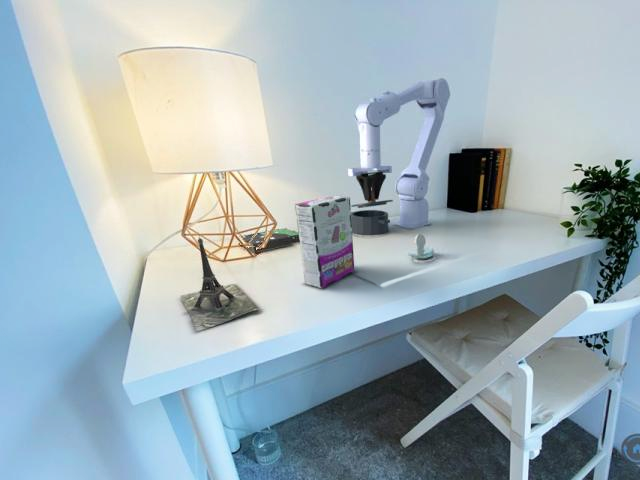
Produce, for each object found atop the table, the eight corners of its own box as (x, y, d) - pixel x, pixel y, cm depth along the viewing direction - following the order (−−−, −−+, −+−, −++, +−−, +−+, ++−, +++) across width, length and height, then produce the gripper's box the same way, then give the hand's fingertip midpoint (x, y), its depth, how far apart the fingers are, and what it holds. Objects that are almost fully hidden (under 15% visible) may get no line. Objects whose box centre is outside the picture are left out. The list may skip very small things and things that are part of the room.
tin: (367, 224, 117) (367, 207, 114) (401, 234, 105) (401, 215, 102) (339, 230, 110) (338, 212, 108) (371, 241, 98) (371, 220, 96)
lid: (375, 205, 110) (373, 191, 109) (401, 202, 101) (400, 186, 100) (343, 210, 103) (341, 194, 102) (368, 206, 93) (366, 189, 92)
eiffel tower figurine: (261, 312, 58) (248, 236, 53) (197, 331, 52) (174, 248, 47) (234, 285, 69) (221, 220, 64) (178, 299, 63) (159, 228, 58)
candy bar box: (337, 268, 78) (332, 194, 71) (355, 272, 75) (351, 196, 69) (302, 284, 69) (293, 202, 62) (321, 289, 67) (313, 205, 60)
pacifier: (442, 260, 82) (424, 254, 86) (444, 235, 80) (425, 230, 84) (420, 267, 78) (403, 260, 82) (422, 241, 75) (403, 235, 80)
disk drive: (254, 254, 88) (304, 242, 97) (252, 244, 87) (302, 232, 96) (238, 246, 95) (285, 235, 104) (236, 236, 94) (284, 226, 103)
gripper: (358, 151, 89) (360, 204, 94) (398, 150, 97) (398, 198, 103) (342, 151, 94) (345, 201, 99) (382, 149, 102) (383, 196, 108)
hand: (371, 199), depth 101 cm, fingers closed on lid, 2 cm apart
